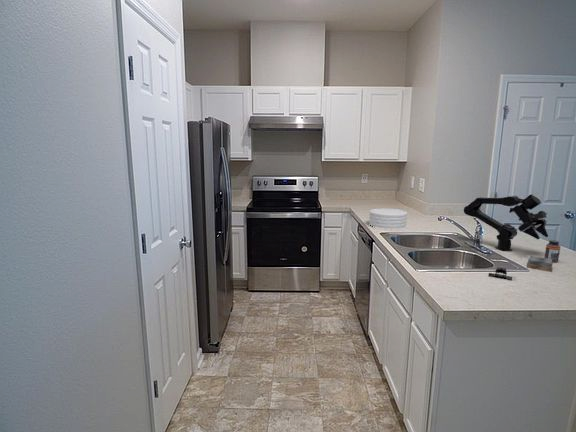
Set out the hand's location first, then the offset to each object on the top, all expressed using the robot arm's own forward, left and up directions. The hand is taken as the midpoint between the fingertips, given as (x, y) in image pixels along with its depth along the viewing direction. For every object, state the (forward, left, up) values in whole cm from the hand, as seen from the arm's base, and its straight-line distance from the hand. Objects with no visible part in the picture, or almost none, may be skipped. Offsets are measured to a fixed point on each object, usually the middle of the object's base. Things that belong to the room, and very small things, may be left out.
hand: (543, 237), depth 179 cm
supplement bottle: (+5, +2, -12) cm, 13 cm away
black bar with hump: (+23, -41, -12) cm, 48 cm away
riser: (+13, -12, -12) cm, 21 cm away
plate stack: (-84, -53, -12) cm, 100 cm away
